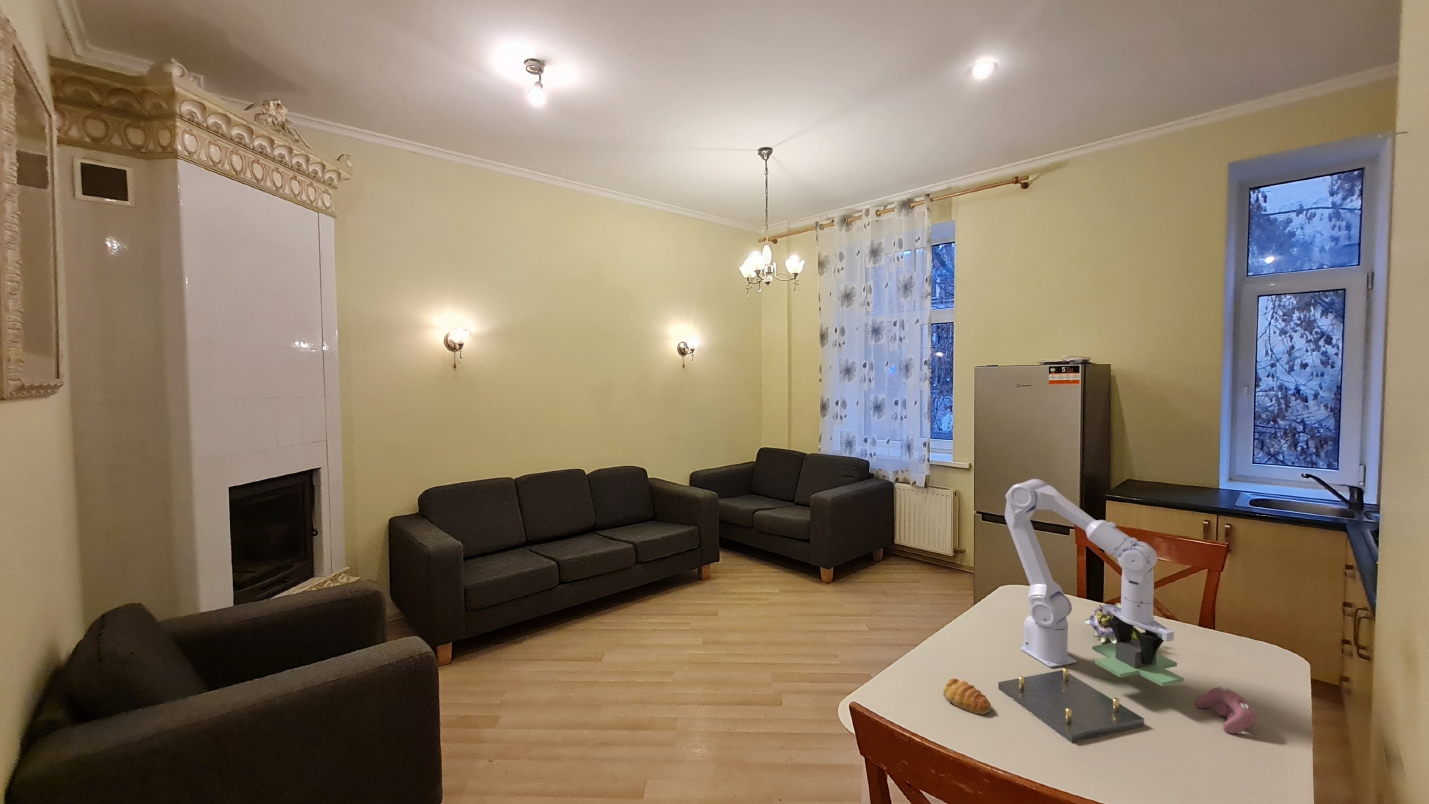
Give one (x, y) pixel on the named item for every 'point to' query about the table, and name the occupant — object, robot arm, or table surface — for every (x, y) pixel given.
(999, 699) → the table surface
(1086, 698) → the chassis
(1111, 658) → the board
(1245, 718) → the video game controller
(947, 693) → the pastry
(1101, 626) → the passion flower
